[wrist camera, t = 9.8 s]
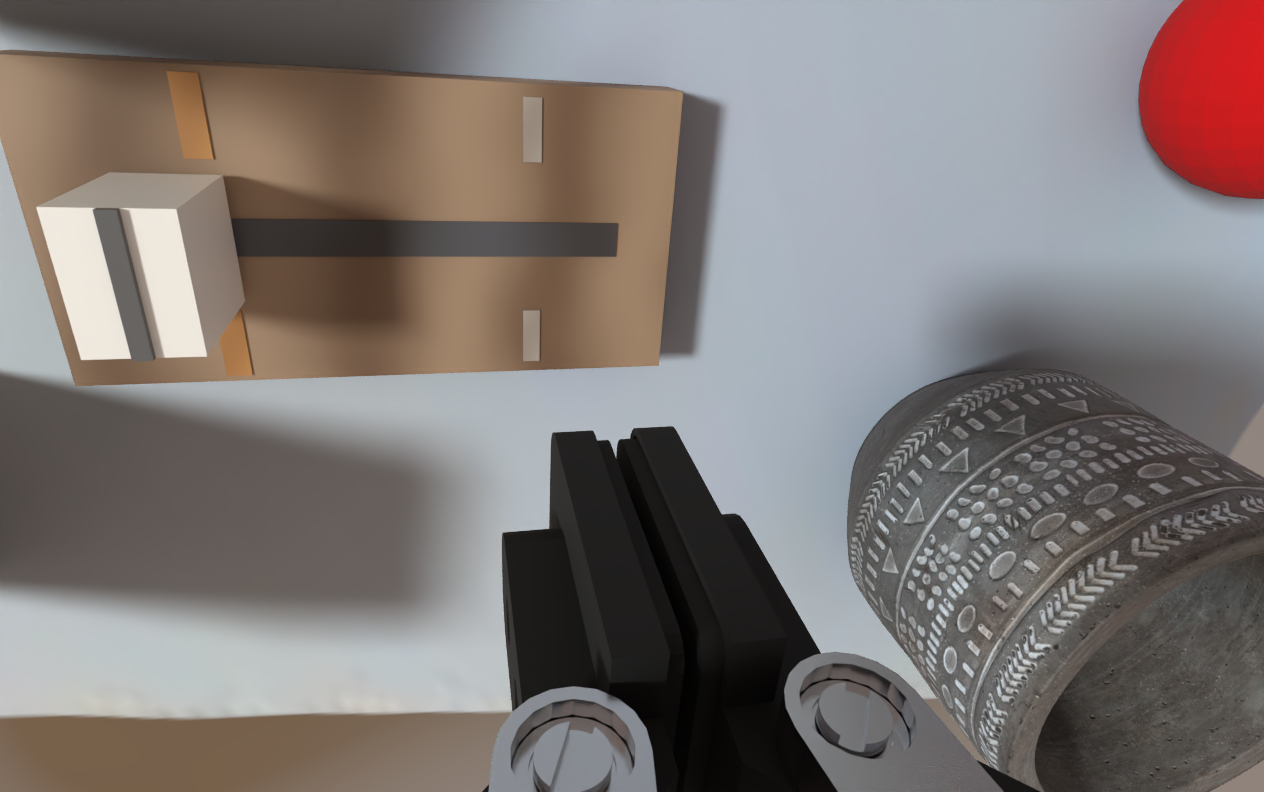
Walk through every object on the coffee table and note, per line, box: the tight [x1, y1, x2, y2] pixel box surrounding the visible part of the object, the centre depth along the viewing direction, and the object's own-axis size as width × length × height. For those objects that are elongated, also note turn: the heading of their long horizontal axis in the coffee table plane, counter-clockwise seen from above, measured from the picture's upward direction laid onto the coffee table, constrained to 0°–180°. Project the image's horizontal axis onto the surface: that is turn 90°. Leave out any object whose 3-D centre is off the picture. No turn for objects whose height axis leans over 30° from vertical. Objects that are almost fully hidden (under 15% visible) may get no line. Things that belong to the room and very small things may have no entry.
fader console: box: [0, 50, 683, 386], centre depth 25 cm, size 20×10×2 cm, turn 87°
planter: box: [847, 369, 1264, 792], centre depth 31 cm, size 14×14×15 cm
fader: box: [36, 172, 245, 362], centre depth 21 cm, size 3×4×5 cm
